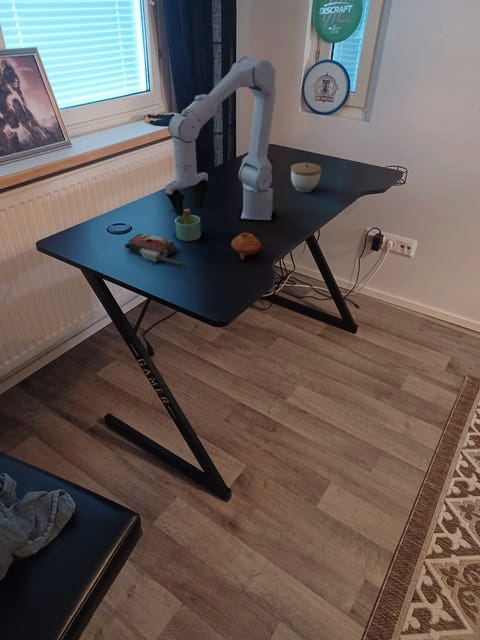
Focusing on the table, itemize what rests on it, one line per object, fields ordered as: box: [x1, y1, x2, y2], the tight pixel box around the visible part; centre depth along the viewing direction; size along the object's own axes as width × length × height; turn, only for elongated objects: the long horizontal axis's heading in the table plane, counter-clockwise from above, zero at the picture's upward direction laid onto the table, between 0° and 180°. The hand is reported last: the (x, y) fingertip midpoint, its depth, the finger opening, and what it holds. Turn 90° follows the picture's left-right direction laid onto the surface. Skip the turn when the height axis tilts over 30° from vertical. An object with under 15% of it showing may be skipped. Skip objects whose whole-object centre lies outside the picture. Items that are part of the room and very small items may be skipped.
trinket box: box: [290, 161, 323, 193], centre depth 162 cm, size 11×11×9 cm
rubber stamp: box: [183, 208, 193, 225], centre depth 132 cm, size 5×5×8 cm
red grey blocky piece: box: [124, 233, 184, 266], centre depth 124 cm, size 9×4×20 cm
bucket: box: [174, 214, 202, 242], centre depth 133 cm, size 7×7×5 cm
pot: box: [230, 232, 262, 261], centre depth 123 cm, size 8×8×7 cm
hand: (189, 211), depth 131 cm, fingers open, 7 cm apart
